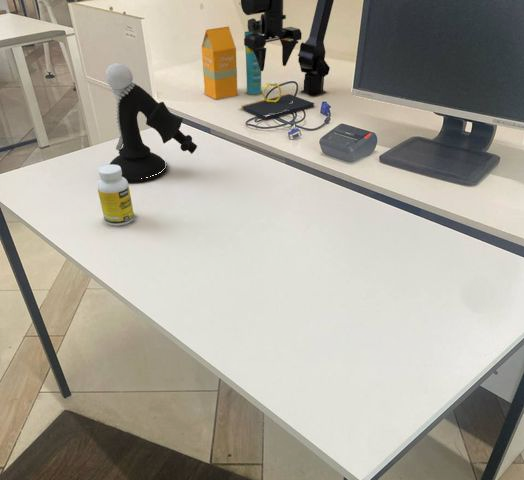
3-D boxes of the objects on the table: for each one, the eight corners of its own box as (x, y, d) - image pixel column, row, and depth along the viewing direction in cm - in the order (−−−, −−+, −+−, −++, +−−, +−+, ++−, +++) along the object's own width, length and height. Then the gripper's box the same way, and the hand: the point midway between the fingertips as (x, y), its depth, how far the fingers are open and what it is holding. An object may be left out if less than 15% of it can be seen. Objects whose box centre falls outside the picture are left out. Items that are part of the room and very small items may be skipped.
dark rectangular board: (288, 97, 181) (288, 93, 180) (313, 106, 173) (313, 103, 172) (241, 109, 172) (241, 105, 171) (266, 120, 164) (266, 116, 163)
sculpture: (117, 157, 143) (98, 54, 126) (204, 160, 142) (195, 56, 125) (100, 182, 132) (76, 72, 115) (194, 185, 130) (183, 74, 113)
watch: (262, 103, 172) (262, 83, 168) (262, 100, 174) (262, 81, 170) (281, 103, 172) (281, 83, 168) (280, 100, 174) (281, 81, 170)
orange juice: (237, 94, 183) (235, 28, 169) (215, 99, 179) (211, 32, 166) (226, 89, 188) (223, 24, 174) (204, 93, 184) (199, 27, 171)
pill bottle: (120, 229, 114) (109, 178, 106) (98, 222, 117) (86, 171, 109) (140, 217, 118) (131, 166, 110) (119, 210, 121) (109, 160, 113)
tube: (251, 96, 181) (250, 32, 168) (241, 93, 184) (239, 30, 171) (266, 92, 185) (266, 29, 172) (257, 89, 188) (256, 26, 175)
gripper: (280, 3, 166) (279, 58, 177) (232, 10, 157) (234, 68, 168) (303, 8, 160) (301, 65, 170) (255, 16, 151) (256, 75, 161)
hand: (273, 68), depth 168 cm, fingers open, 9 cm apart
